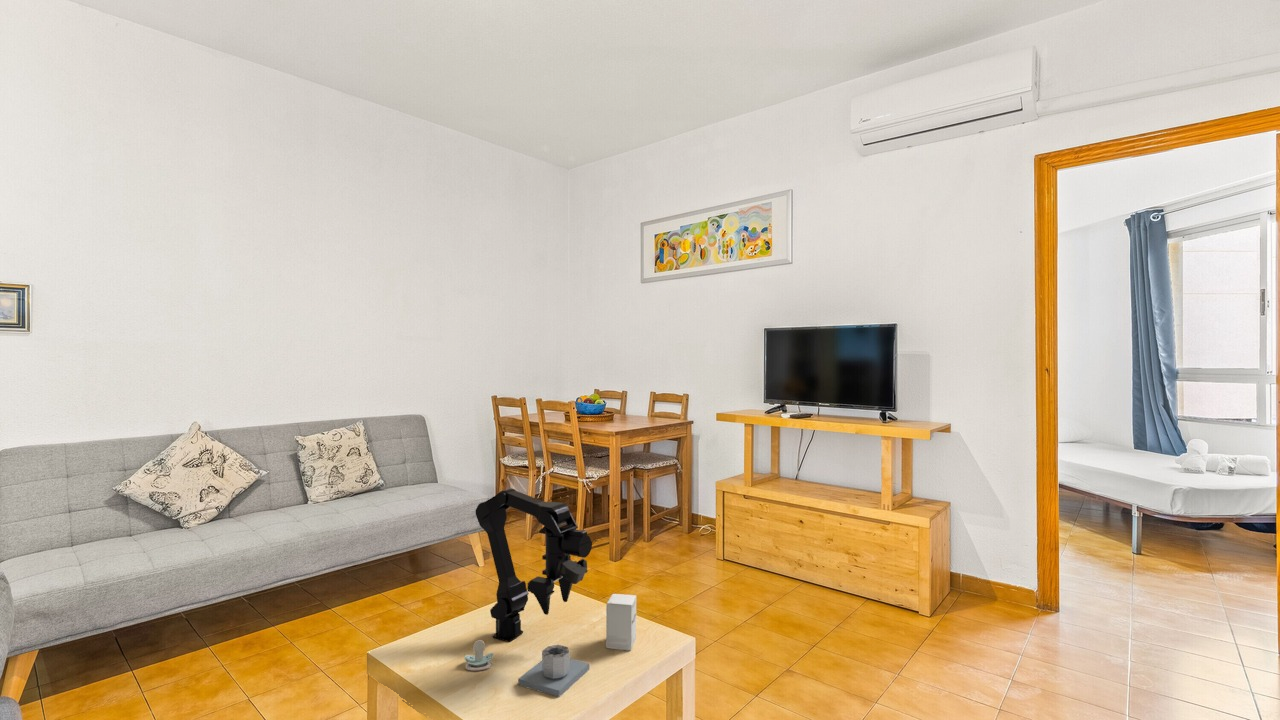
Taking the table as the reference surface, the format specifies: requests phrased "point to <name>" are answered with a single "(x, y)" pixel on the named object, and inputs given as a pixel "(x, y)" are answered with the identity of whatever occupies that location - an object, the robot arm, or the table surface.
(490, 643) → the table surface
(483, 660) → the pacifier
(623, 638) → the supplement box
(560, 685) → the block
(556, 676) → the hub
